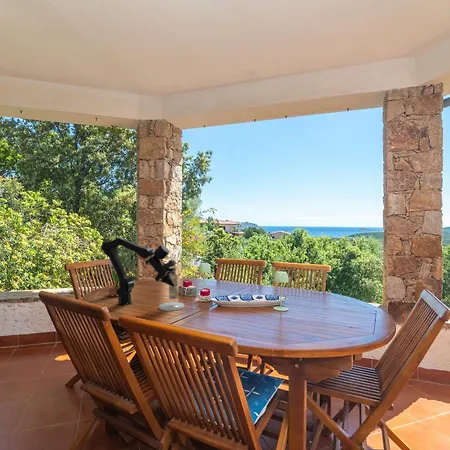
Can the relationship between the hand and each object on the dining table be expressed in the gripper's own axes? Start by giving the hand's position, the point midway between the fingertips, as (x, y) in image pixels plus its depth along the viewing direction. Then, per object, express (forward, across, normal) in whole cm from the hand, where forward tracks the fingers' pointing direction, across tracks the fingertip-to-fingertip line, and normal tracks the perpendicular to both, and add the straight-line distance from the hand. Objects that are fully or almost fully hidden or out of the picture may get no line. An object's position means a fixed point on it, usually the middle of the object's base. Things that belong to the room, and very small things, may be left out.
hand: (175, 285), depth 191 cm
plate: (+8, -2, +10) cm, 13 cm away
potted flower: (-27, +20, +45) cm, 56 cm away
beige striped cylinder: (+4, 0, +6) cm, 8 cm away
